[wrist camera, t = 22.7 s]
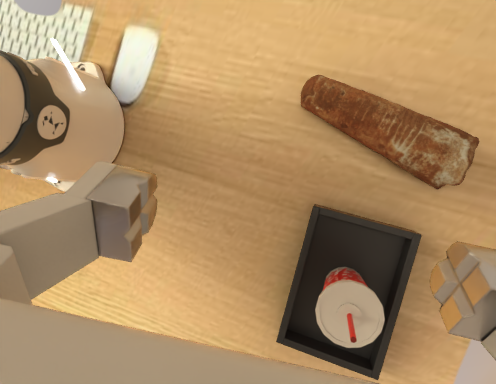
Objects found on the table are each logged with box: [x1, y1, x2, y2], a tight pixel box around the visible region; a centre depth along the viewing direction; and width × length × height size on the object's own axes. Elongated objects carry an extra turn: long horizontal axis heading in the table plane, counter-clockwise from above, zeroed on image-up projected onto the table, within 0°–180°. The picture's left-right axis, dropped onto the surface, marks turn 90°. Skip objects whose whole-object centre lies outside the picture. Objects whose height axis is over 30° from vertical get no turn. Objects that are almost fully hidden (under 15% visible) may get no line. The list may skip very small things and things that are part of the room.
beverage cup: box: [315, 267, 385, 348], centre depth 32 cm, size 6×6×14 cm
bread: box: [301, 75, 479, 189], centre depth 35 cm, size 6×19×6 cm, turn 57°
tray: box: [276, 204, 422, 380], centre depth 38 cm, size 12×17×3 cm
